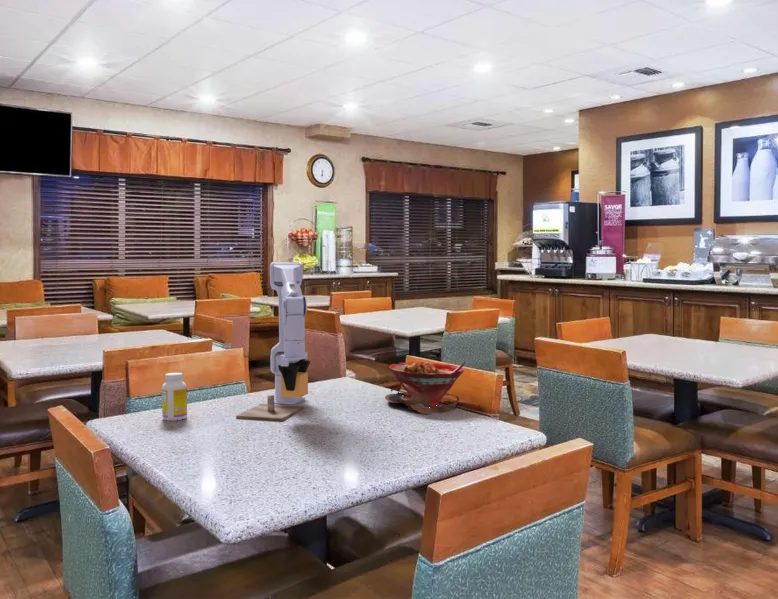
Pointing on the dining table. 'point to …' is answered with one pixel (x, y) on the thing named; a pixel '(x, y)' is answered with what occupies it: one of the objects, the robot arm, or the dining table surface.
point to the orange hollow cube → (296, 386)
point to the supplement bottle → (174, 397)
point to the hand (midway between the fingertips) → (294, 388)
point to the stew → (425, 385)
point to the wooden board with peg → (270, 411)
